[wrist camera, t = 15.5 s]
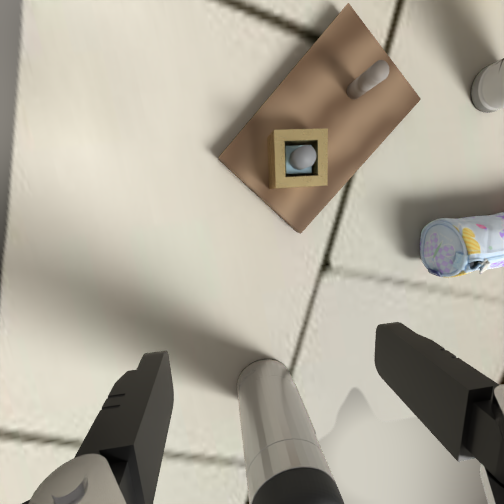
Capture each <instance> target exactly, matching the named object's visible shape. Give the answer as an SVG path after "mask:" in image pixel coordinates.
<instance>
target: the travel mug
mask: <svg viewBox="0 0 504 504" xmlns="http://www.w3.org/2000/svg"><path fill="white" fill-rule="evenodd" d="M471 95H472V100H473V103H474V105H475V106H476V108H477V109H479V110H480V111H482V112H487V113H488V112H493V111H497V110H500V109H503V108H504V58H503V59H501V60H499V61H498V62H495V63H493V64H491V65H489V66H487V67H485V68H484V69H482V70H481V71H480V72H479V73H478V75H477V76H476V78H475V80H474V82H473V85H472V91H471Z"/></svg>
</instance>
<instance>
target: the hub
mask: <svg viewBox="0 0 504 504" xmlns="http://www.w3.org/2000/svg"><path fill="white" fill-rule="evenodd" d="M315 160H316V152H315V150H314V148H313V147H312V145H297V146H285V176H289V175H305V174H309V173H312V165H313V164H314V162H315Z"/></svg>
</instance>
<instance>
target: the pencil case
mask: <svg viewBox="0 0 504 504" xmlns="http://www.w3.org/2000/svg"><path fill="white" fill-rule="evenodd" d="M420 256H421V259H422V262H423V264H424V265H425V267H426V268H427V269H428V271H429V273H431V274H434V275H436V276H440V277H456V276H461V275H465V274H468V273H470V272H472V271H475V270H480V274H482V273H483V272H485V271H486V269H492V268H498V267H504V212H502V213H497V214H494V215H488V216H472V217H465V218H457V219H454V218H440V219H436V220H434V221H432V222H430V223H428V224H427V225H426V226H425V227H424V228H423V230H422V232H421V238H420Z"/></svg>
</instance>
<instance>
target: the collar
mask: <svg viewBox="0 0 504 504" xmlns="http://www.w3.org/2000/svg"><path fill="white" fill-rule="evenodd" d="M297 145H312V147H313V148H314V150H315V152H316V160H315V162H314V164H313V165H312V173H309V174H307V176H299V177H286V176H285V146H297ZM267 147H268V172H269V189H282V188H300V187H316V186H326V185H328V128H325V129H288V130H273V132H272V133H271V134H270V135H269V136H268V137H267Z"/></svg>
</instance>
